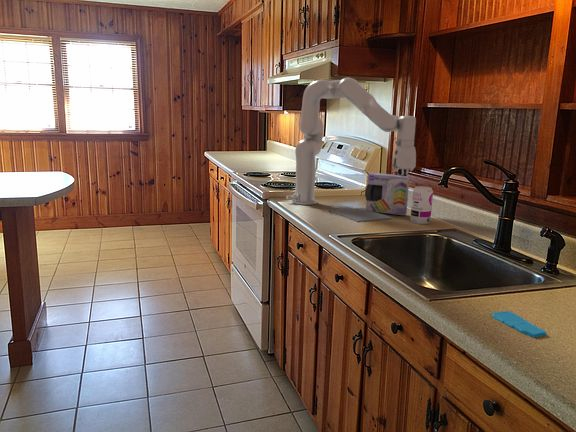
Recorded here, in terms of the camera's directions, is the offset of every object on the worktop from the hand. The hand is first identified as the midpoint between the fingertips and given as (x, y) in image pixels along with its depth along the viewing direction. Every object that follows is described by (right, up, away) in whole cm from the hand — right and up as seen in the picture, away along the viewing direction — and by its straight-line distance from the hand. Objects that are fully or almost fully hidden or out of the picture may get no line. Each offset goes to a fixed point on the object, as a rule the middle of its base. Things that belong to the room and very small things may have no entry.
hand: (402, 183), depth 223 cm
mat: (-20, -15, -6) cm, 26 cm away
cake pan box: (-8, -14, -1) cm, 16 cm away
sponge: (-1, -40, -114) cm, 121 cm away
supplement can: (+4, -18, -17) cm, 25 cm away
